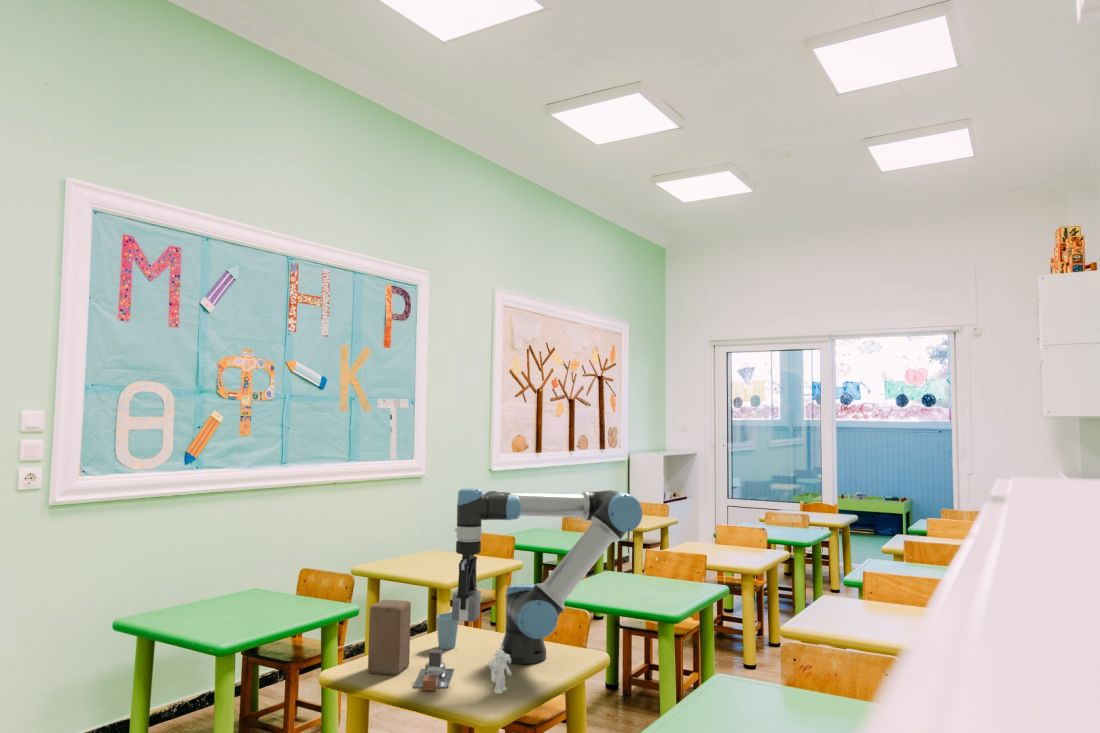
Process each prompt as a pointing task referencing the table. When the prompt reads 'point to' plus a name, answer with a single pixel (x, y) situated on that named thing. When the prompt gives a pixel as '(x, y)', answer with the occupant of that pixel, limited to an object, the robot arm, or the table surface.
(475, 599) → the grey metal cube
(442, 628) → the cup
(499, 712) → the table surface
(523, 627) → the robot arm
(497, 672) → the hat wearing toy figure
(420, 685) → the lever
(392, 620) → the wooden block
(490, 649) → the table surface
